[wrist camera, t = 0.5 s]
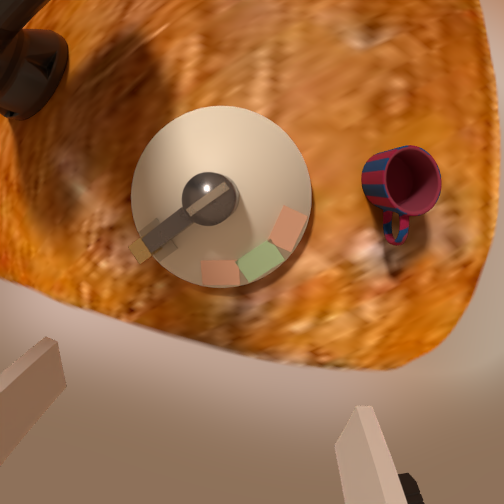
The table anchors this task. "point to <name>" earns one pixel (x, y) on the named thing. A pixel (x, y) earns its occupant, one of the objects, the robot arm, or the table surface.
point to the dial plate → (249, 186)
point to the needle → (192, 212)
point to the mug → (401, 186)
